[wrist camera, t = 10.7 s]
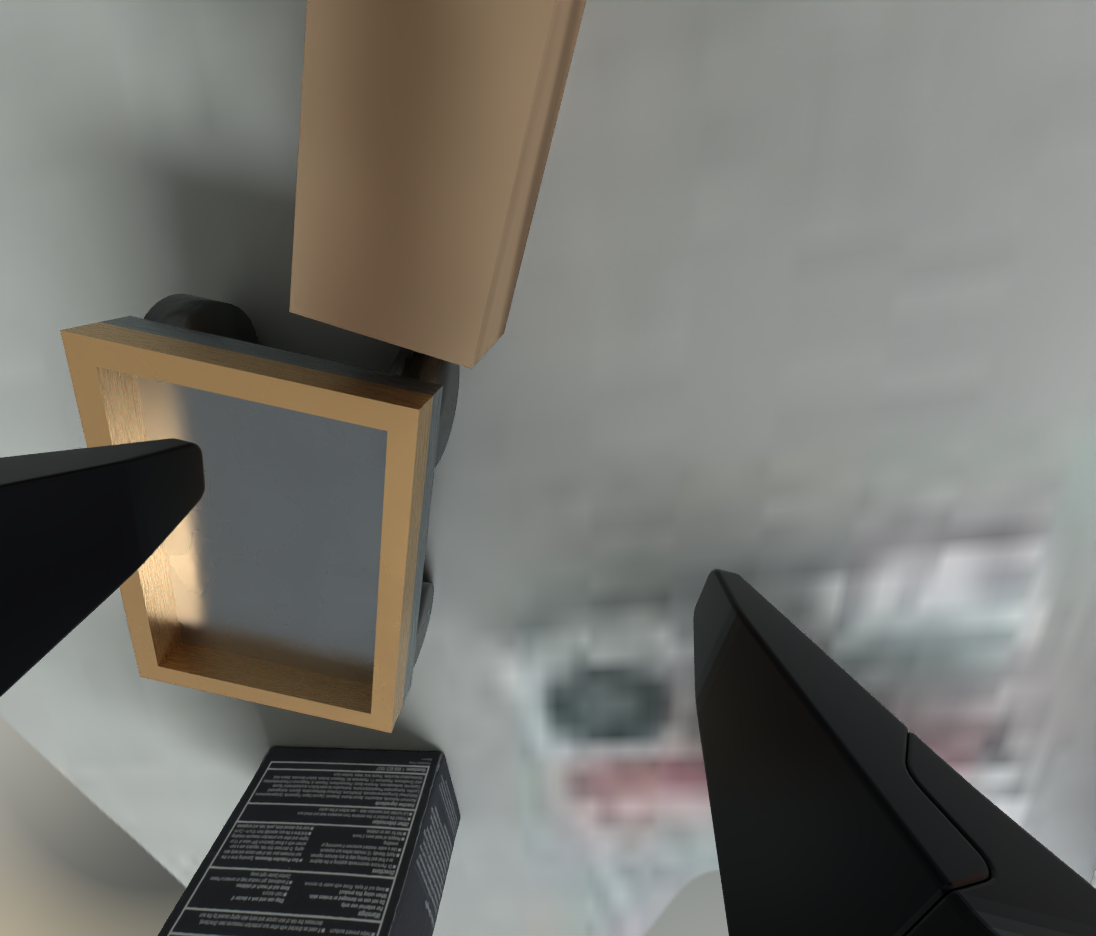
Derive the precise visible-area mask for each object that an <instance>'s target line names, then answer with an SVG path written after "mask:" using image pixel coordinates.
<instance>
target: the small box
mask: <svg viewBox="0 0 1096 936" xmlns="http://www.w3.org/2000/svg"><path fill="white" fill-rule="evenodd" d="M459 821H460V813H459V809H458V805H457V801H456V797H455V793H454V789H453V785H452V782H451V778H450V774H449V771H448V767H447V763H446V759H445V756H444V754H443V753H441V752H421V751H384V750H350V749H312V748H279V747H272V748H270V750H269V751H268V752H267V753H266V755H265V757H264V759H263V761H262V763H261V765H260V767H259V769H258V771H257V772H256V774H255V776H254V778H253V779H252V781H251V783H250V785H249V786H248V788H247V790H246V791H245V793H244V795H243V796H242V798H241V799H240V801H239V803H238V805H237V806H236V808H235V809H234V811H233V812H232V814H231V816H230V817H229V819H228V821H227V822H226V824H225V826H224V827H223V829H222V831H221V832H220V834H219V836H218V837H217V839H216V841H215V842H214V844H213V845H212V847H211V849H210V851H209V852H208V854H207V855H206V857H205V858H204V860H203V862H202V863H201V865H200V867H199V868H198V870H197V872H196V873H195V875H194V876H193V878H192V880H191V882H190V883H189V885H188V887H187V888H186V890H185V891H184V893H183V895H182V896H181V898H180V900H179V901H178V903H177V904H176V906H175V908H174V910H173V911H172V913H171V914H170V916H169V918H168V919H167V921H166V923H165V924H164V926H163V928H162V930H161V931H160V933H159V934H158V936H432V934H433V930H434V926H435V922H436V918H437V914H438V909H439V905H440V901H441V897H442V892H443V888H444V884H445V880H446V875H447V871H448V868H449V863H450V858H451V854H452V850H453V846H454V841H455V837H456V833H457V829H458V826H459Z"/></svg>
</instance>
